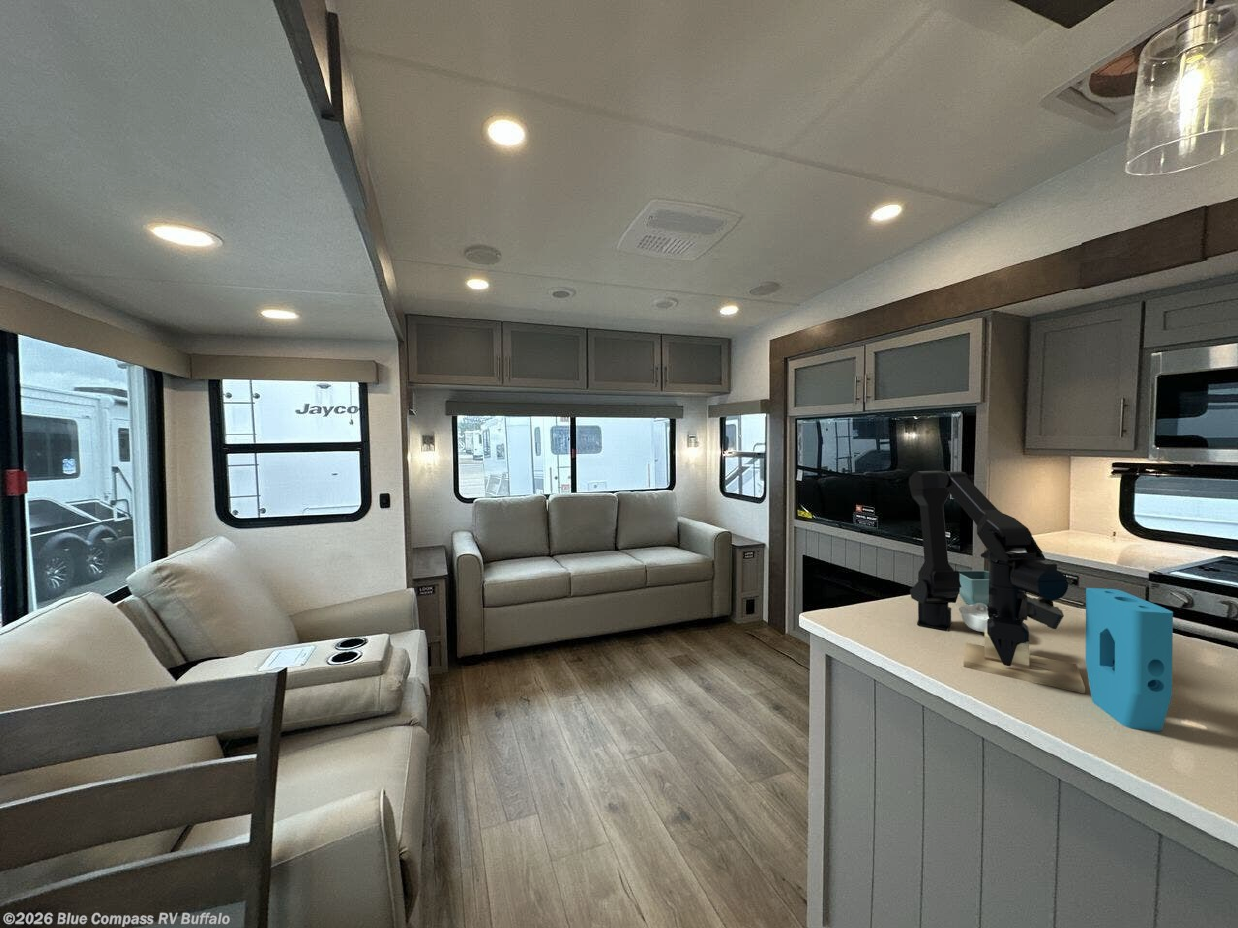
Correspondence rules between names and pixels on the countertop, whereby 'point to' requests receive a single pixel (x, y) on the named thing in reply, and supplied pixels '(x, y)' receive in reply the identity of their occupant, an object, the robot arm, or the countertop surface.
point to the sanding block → (1019, 656)
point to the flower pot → (974, 586)
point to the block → (1129, 657)
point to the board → (1038, 671)
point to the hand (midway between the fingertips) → (1006, 657)
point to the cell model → (975, 616)
